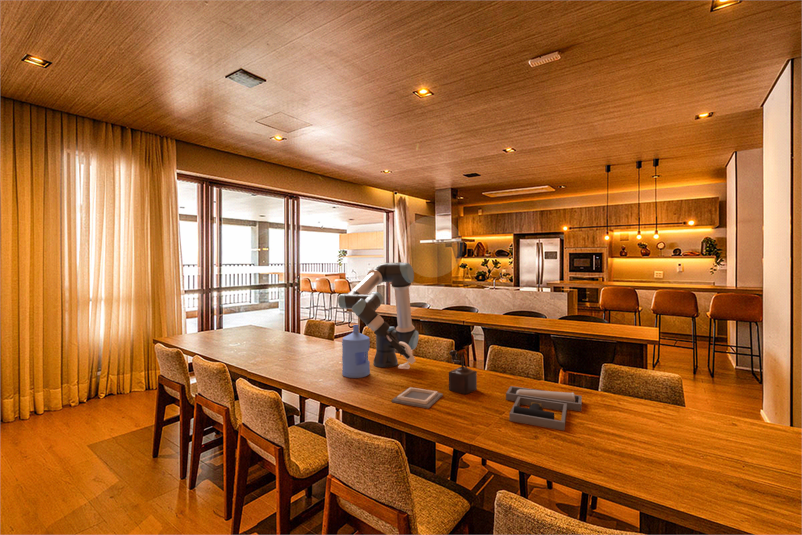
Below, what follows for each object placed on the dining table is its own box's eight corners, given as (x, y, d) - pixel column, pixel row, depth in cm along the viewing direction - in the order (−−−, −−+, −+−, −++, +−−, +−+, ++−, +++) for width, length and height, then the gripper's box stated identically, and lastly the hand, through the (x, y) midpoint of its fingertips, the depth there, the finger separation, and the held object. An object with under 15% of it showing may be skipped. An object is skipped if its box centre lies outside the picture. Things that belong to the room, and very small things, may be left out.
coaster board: (408, 389, 187) (408, 385, 187) (442, 395, 179) (442, 390, 179) (391, 402, 171) (391, 397, 171) (428, 408, 163) (428, 403, 163)
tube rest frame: (510, 392, 184) (510, 386, 184) (581, 402, 170) (581, 395, 170) (506, 399, 173) (506, 393, 173) (581, 411, 160) (581, 404, 160)
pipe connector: (518, 398, 161) (555, 404, 154) (518, 410, 161) (555, 417, 155) (513, 408, 151) (553, 415, 144) (513, 421, 151) (553, 428, 144)
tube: (515, 393, 171) (575, 397, 165) (515, 386, 176) (573, 390, 169) (515, 403, 173) (574, 408, 166) (515, 395, 178) (572, 400, 171)
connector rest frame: (518, 402, 170) (518, 396, 169) (566, 410, 161) (566, 403, 161) (509, 420, 150) (509, 413, 150) (564, 430, 141) (564, 422, 141)
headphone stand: (399, 366, 182) (400, 341, 182) (412, 366, 181) (412, 341, 181) (398, 368, 177) (398, 342, 178) (410, 369, 176) (411, 343, 177)
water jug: (337, 377, 209) (337, 327, 208) (349, 369, 224) (349, 322, 223) (363, 379, 204) (363, 328, 204) (373, 371, 219) (373, 323, 219)
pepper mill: (478, 389, 188) (478, 353, 188) (466, 395, 180) (466, 357, 180) (452, 382, 199) (452, 348, 198) (439, 387, 190) (439, 352, 190)
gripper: (373, 328, 187) (406, 361, 188) (372, 335, 169) (408, 371, 170) (384, 318, 187) (417, 351, 188) (384, 323, 169) (420, 360, 170)
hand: (413, 360), depth 179 cm, fingers closed on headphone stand, 5 cm apart
